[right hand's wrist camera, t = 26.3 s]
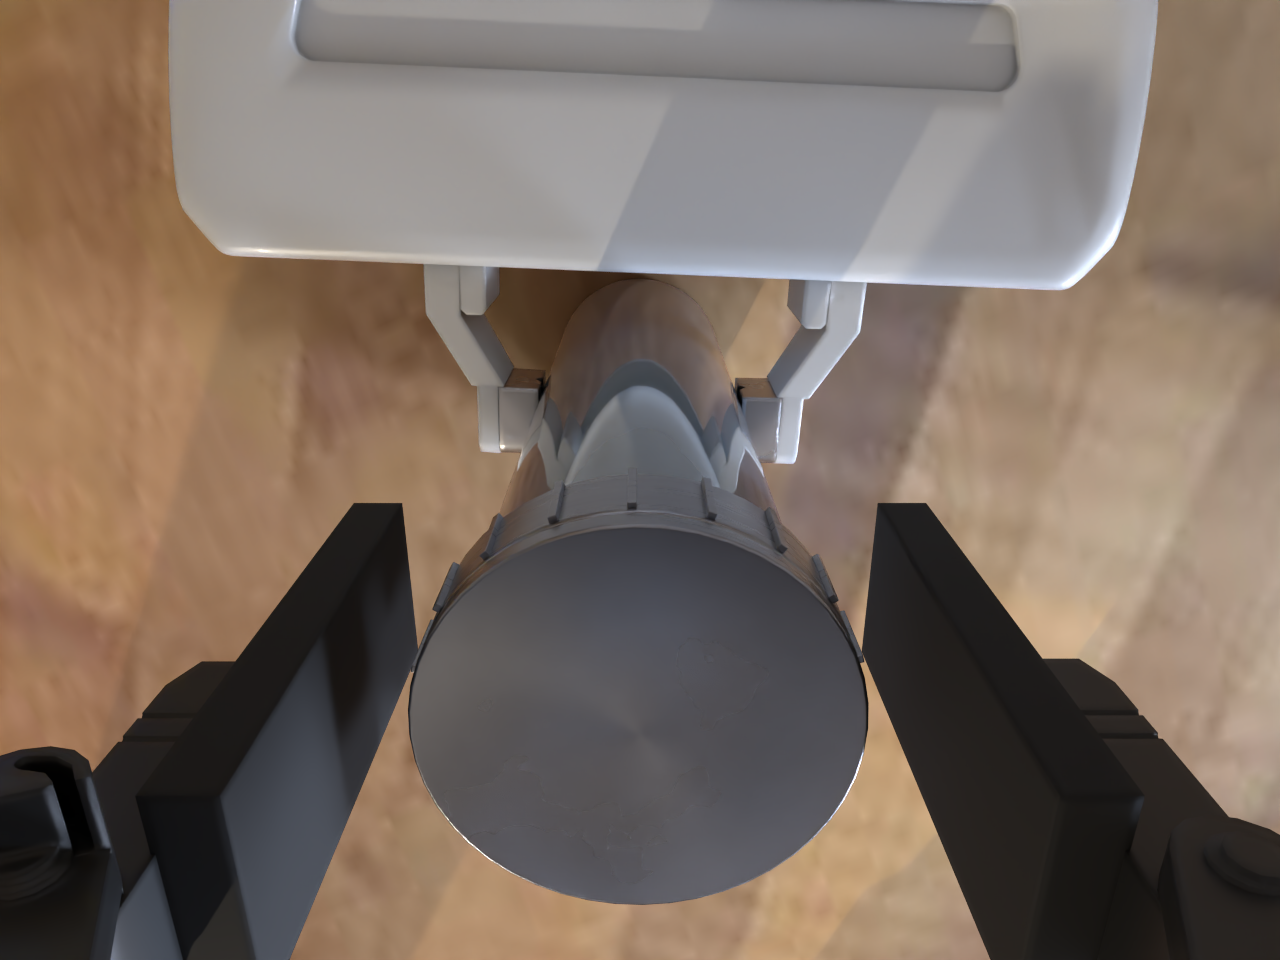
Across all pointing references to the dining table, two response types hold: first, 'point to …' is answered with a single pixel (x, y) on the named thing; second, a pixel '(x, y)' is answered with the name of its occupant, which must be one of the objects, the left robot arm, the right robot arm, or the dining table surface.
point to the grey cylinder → (638, 400)
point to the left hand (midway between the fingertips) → (639, 451)
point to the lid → (638, 692)
